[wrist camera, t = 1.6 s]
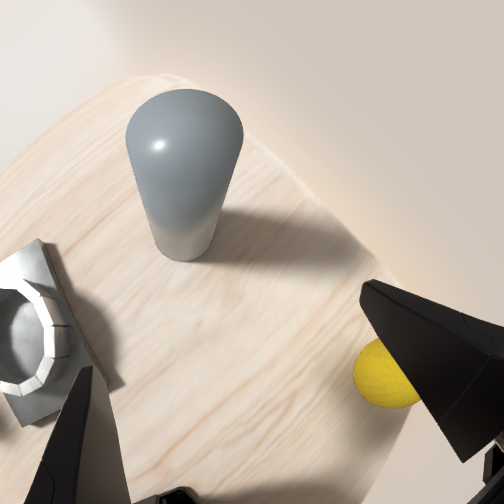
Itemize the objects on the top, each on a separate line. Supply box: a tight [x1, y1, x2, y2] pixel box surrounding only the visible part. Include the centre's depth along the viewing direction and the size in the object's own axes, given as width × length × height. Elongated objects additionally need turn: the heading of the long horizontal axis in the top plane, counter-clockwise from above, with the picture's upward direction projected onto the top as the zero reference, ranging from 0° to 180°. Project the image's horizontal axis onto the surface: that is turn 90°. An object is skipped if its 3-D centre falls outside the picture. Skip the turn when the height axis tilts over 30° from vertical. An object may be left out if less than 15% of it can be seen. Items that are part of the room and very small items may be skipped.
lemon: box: [353, 338, 421, 408], centre depth 20 cm, size 6×6×8 cm
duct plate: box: [0, 238, 110, 428], centre depth 17 cm, size 12×9×4 cm
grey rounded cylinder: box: [126, 89, 243, 262], centre depth 17 cm, size 4×4×13 cm
